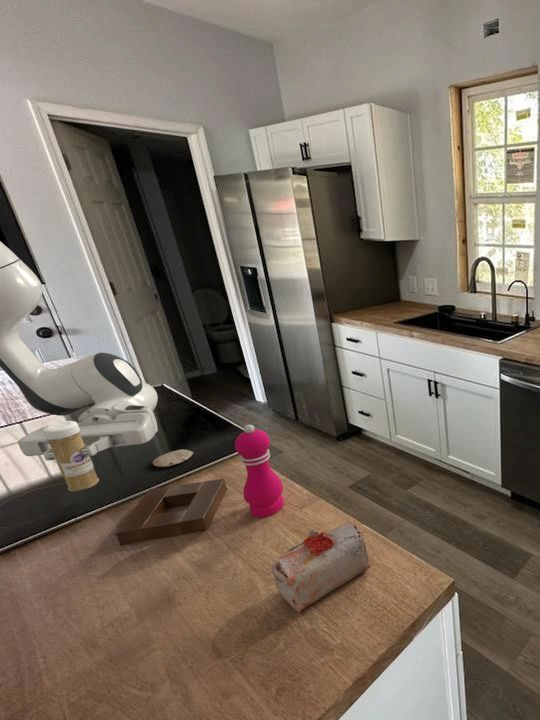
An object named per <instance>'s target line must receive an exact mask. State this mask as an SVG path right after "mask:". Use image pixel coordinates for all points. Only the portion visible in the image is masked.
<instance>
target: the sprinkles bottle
mask: <svg viewBox="0 0 540 720" xmlns="http://www.w3.org/2000/svg"><path fill="white" fill-rule="evenodd" d="M76 422H77V421H74V420H64V421H58V422H54V423H52V424H49V425H46V426H47V427H45V426H44V427H45V428H44V429H43V430H42V431H43V434H44V436H45V438H46V439H47V441H48V442H49V444H50V447H51V449H52V452H53V456H54V458H55V460H54V461H55V462H56V464H57V467H58V470H59V472H60V474H61V476H62V477H63V479H64V481H65V483H66V485H67V490H68V491H70V492H80V491H84V490H87V489H91V488H93V487H94V486H96V485H97V484H98V483H99V481H100V478H99V477H98V475H97V473H96V470H95V468H94V464H93V462H92V459H91V456H83V455H82V454H83V453H82V452H81V448H83V447H84V446H85V444H84V443H83V440H82V438H81V435H80V432H79V431H80V429H79V427H78V424H77V423H76Z"/></svg>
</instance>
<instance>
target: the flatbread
mask: <svg viewBox="0 0 540 720" xmlns="http://www.w3.org/2000/svg"><path fill="white" fill-rule="evenodd" d="M193 455H194V451H191V450H188V449H177V450H173V451H169V452H167V453H164V454H162V455H160V456H158V457H156V458H155V459H154V460H152V465H153V466H155V467H157V468H168V467H173V466H176V465H178V464H181V463H184V462H185V461H187V460H189V459H190V458H191V457H192V456H193Z"/></svg>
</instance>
